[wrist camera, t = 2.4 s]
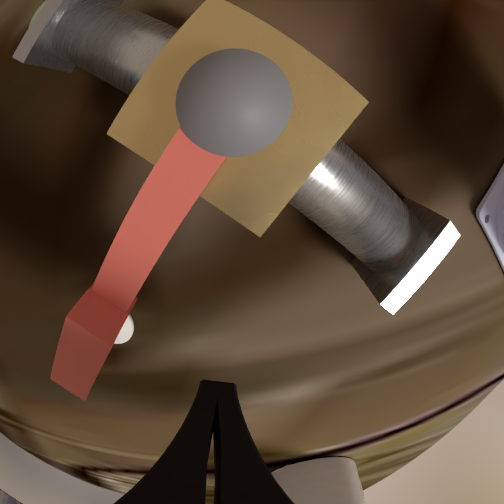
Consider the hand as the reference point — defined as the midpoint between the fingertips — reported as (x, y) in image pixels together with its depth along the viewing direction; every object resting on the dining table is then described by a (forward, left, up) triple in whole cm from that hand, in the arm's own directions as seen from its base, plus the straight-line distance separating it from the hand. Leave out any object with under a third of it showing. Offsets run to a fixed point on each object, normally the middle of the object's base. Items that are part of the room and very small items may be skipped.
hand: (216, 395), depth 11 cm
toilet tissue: (-22, +15, -5) cm, 27 cm away
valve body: (+5, -9, -5) cm, 12 cm away
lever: (+5, -4, -1) cm, 7 cm away
